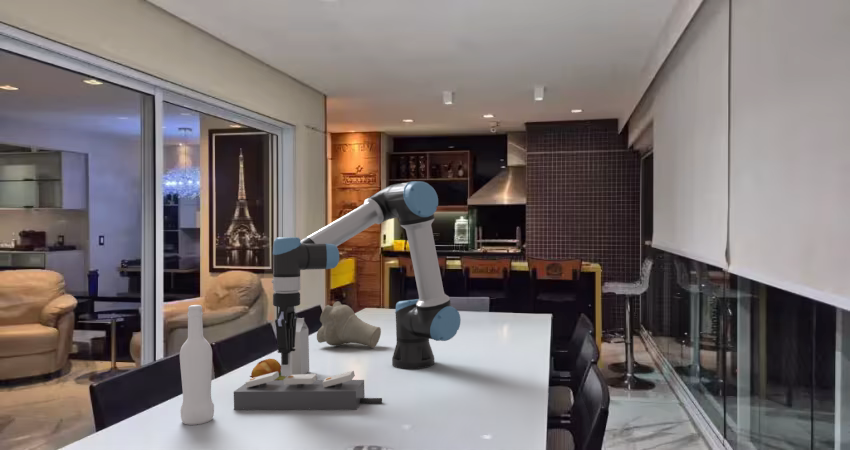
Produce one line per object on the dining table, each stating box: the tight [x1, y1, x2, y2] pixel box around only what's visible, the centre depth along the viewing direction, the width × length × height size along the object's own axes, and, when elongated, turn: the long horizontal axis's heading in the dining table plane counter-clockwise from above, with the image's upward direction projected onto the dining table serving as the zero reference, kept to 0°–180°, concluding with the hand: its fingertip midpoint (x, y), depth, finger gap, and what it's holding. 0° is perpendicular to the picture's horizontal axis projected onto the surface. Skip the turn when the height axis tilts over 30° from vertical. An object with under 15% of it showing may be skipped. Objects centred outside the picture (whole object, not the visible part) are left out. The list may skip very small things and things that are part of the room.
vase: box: [316, 301, 382, 349], centre depth 245 cm, size 22×22×28 cm
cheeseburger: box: [249, 358, 287, 380], centre depth 185 cm, size 10×11×10 cm
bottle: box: [179, 304, 215, 426], centre depth 154 cm, size 8×8×30 cm
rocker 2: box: [284, 373, 318, 385], centre depth 167 cm, size 8×5×2 cm, turn 85°
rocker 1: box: [244, 371, 279, 388], centre depth 168 cm, size 8×5×2 cm, turn 85°
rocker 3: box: [322, 370, 356, 387], centre depth 166 cm, size 8×5×2 cm, turn 85°
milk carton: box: [291, 317, 310, 375], centre depth 202 cm, size 7×7×19 cm
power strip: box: [233, 379, 383, 411], centre depth 167 cm, size 40×12×6 cm, turn 85°
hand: (286, 375), depth 168 cm, fingers closed
